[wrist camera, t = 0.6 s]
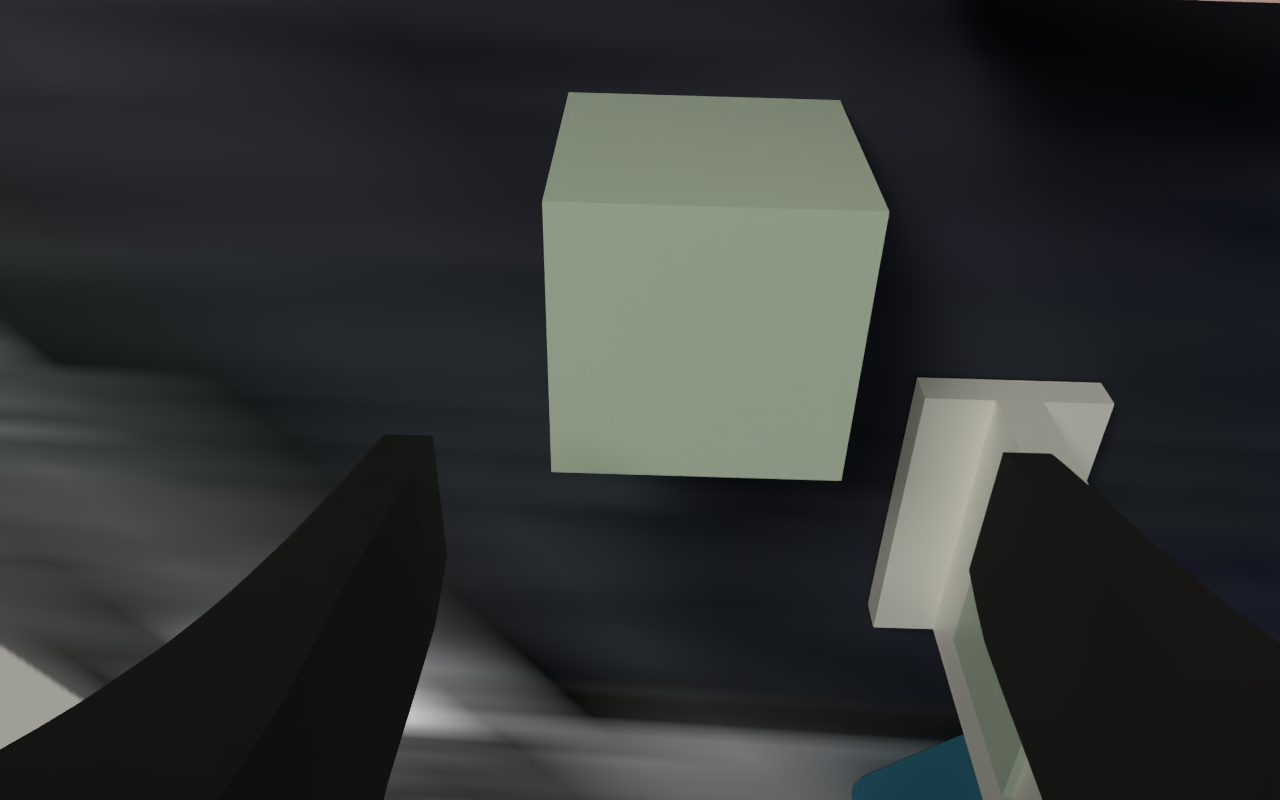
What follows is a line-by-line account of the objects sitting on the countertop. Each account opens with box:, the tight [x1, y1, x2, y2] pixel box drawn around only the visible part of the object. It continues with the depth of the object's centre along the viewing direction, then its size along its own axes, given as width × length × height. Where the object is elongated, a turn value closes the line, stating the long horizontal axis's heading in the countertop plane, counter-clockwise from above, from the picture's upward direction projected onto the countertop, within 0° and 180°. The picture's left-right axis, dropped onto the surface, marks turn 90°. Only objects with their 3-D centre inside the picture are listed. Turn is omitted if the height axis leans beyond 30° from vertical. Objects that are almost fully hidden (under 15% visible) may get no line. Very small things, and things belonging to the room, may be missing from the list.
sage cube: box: [542, 92, 889, 481], centre depth 18 cm, size 5×5×5 cm
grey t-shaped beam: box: [868, 377, 1114, 800], centre depth 21 cm, size 4×7×8 cm, turn 179°
